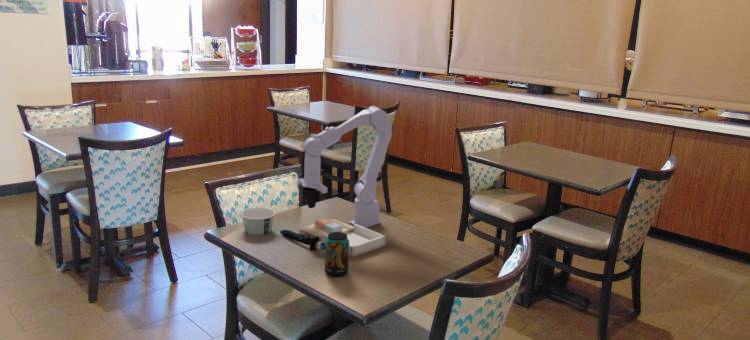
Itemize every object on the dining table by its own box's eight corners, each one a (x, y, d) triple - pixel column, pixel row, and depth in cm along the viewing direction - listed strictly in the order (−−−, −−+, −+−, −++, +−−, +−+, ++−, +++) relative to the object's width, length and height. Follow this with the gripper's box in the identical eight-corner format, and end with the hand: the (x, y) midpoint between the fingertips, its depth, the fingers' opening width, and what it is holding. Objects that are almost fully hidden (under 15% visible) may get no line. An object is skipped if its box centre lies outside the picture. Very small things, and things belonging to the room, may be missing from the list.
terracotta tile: (324, 223, 205) (324, 218, 205) (332, 226, 202) (333, 221, 202) (315, 226, 202) (315, 220, 202) (323, 229, 199) (323, 224, 199)
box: (355, 233, 203) (355, 223, 202) (385, 245, 193) (386, 235, 192) (321, 243, 192) (321, 234, 191) (351, 257, 182) (351, 247, 181)
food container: (234, 228, 202) (234, 211, 200) (264, 222, 210) (264, 205, 208) (252, 239, 193) (252, 221, 192) (281, 231, 201) (282, 214, 199)
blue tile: (333, 227, 202) (333, 222, 201) (342, 230, 199) (342, 225, 198) (324, 230, 199) (324, 224, 198) (332, 233, 196) (332, 228, 195)
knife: (341, 257, 179) (340, 243, 178) (333, 259, 177) (333, 245, 176) (286, 237, 201) (285, 225, 200) (279, 239, 199) (278, 227, 198)
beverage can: (329, 279, 166) (330, 241, 163) (321, 269, 172) (322, 232, 169) (351, 275, 169) (352, 238, 166) (343, 266, 175) (344, 230, 172)
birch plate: (333, 223, 211) (333, 218, 210) (355, 233, 203) (355, 227, 202) (299, 233, 200) (299, 228, 199) (321, 243, 192) (321, 238, 191)
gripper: (291, 168, 204) (290, 204, 207) (316, 177, 194) (315, 214, 198) (306, 165, 209) (305, 200, 212) (332, 174, 199) (331, 210, 203)
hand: (311, 207), depth 205 cm, fingers closed
